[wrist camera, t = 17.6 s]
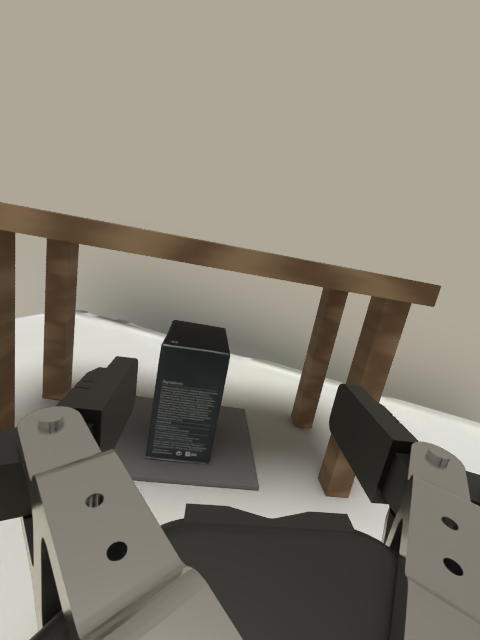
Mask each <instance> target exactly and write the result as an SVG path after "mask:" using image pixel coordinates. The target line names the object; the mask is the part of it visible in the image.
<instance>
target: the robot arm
mask: <svg viewBox="0 0 480 640" xmlns="http://www.w3.org/2000/svg"><path fill="white" fill-rule="evenodd" d="M137 372H138V359H136V358H127V357H119V356H116V357H115V359H114V360H113V361H112V362H111V363H110V365H109V366H108V367H107V368H101V367H99V368H97V369H94V370H92V371H90V372H88V373H87V374H86V375H85V376H84V377H83V378H82V379H81V380H80V382H78V383H77V384H76V385H75V386H74V388H72V389H71V390H70V392H69V393H68V394H67V395H66V396H65V397H64V398H63V399H62V400H61V401H60V402H59V403H58V404H57V405H56V406H55V407H48V408H43V409H40V410H37V411H34V412H32V413H30V414H28V415H27V416H25V417H24V418H23V419H22V420H21V421H20V422H19V424H18V427H16V428H10V429H1V430H0V521H3V520H8V519H12V518H17V517H20V518H21V524H22V530H23V535H24V540H25V546H26V551H27V556H28V562H29V567H30V572H31V577H32V583H33V591H34V601H35V611H36V619H37V626H38V632H37V633H36V634H35V635H34V636H33V637H32V638H31V639H30V640H480V475H478V474H475V473H471V472H468V471H465V467H464V465H463V464H462V462H461V461H460V460H459V459H458V458H456V457H455V456H454V455H453V454H451V453H450V452H448V451H446V450H444V449H443V448H441V447H438V446H436V445H433V444H430V443H426V442H419V441H418V440H417V439H416V438H415V437H414V436H413V435H412V434H411V433H410V432H409V431H408V430H407V429H406V428H405V427H404V426H403V425H402V424H401V423H399V421H398V420H397V419H396V418H395V417H394V416H393V415H392V414H391V413H390V412H389V411H388V410H387V409H386V408H385V407H384V406H383V405H381V404H380V403H378V402H377V401H375V400H374V399H373V398H372V397H371V396H370V395H369V394H368V393H367V391H366V390H365V389H364V388H363V387H362V386H359V385H351V384H340V385H339V387H338V390H337V393H336V397H335V400H334V404H333V408H332V411H331V415H330V419H329V427H330V432H331V434H332V436H333V437H334V439H335V441H336V443H337V444H338V446H339V448H340V450H341V451H342V453H343V455H344V456H345V458H346V460H347V462H348V463H349V465H350V467H351V468H352V470H353V472H354V474H355V475H356V477H357V479H358V481H359V482H360V484H361V486H362V487H363V489H364V491H365V493H366V494H367V496H368V498H369V500H370V501H371V503H381V504H389V506H390V507H389V509H388V512H387V515H386V519H385V524H384V530H383V535H382V540H381V541H379V540H377V539H375V538H373V537H371V536H369V535H367V534H365V533H362V532H360V531H357V530H354V528H353V526H352V524H351V521H350V519H349V517H348V515H347V514H338V513H323V512H305V513H300V514H295V515H290V516H285V517H280V518H274V519H270V518H265V517H262V516H259V515H255V514H252V513H249V512H245V511H242V510H239V509H235V508H232V507H229V506H216V505H201V504H186V509H185V516H184V519H179V520H175V521H171V522H168V523H165V524H163V525H161V526H160V525H159V523H158V522H157V520H156V518H155V517H154V515H153V513H152V512H151V510H150V508H149V507H148V505H147V503H146V502H145V500H144V498H143V497H142V495H141V493H140V492H139V490H138V488H137V487H136V485H135V483H134V482H133V480H132V479H131V477H130V475H129V474H128V472H127V470H126V469H125V467H124V465H123V464H122V462H121V460H120V459H119V457H118V455H117V454H116V452H115V451H114V448H115V446H116V444H117V442H118V440H119V438H120V436H121V434H122V432H123V430H124V428H125V426H126V424H127V422H128V419H129V417H130V415H131V413H132V410H133V407H134V403H135V396H136V384H137Z"/></svg>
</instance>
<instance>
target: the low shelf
mask: <svg viewBox="0 0 480 640" xmlns="http://www.w3.org/2000/svg"><path fill="white" fill-rule="evenodd" d="M15 232H16V233H22V234H28V235H33V236H39V237H45V238H47V256H46V290H45V293H46V294H45V325H44V360H43V395H42V398H48V399H57V400H62V399H63V398H64V397H65V396H66V395H67V394H68V393H69V392H70V390H71V381H72V362H73V344H74V325H75V306H76V286H77V268H78V250H79V249H78V248H79V244H84V245H90V246H95V247H100V248H106V249H112V250H117V251H123V252H129V253H134V254H140V255H145V256H151V257H157V258H162V259H168V260H174V261H179V262H185V263H190V264H196V265H201V266H207V267H213V268H219V269H224V270H230V271H235V272H241V273H246V274H252V275H257V276H263V277H269V278H275V279H280V280H286V281H291V282H297V283H302V284H308V285H314V286H319V287H323V291H322V295H321V299H320V303H319V307H318V311H317V316H316V319H315V323H314V327H313V331H312V335H311V339H310V343H309V347H308V351H307V355H306V359H305V363H304V367H303V371H302V375H301V379H300V383H299V387H298V390H297V394H296V398H295V402H294V406H293V410H292V414H291V418H292V420H293V422H294V425H295V426H297V427H306V428H311V427H312V423H313V420H314V416H315V413H316V409H317V405H318V402H319V398H320V394H321V391H322V387H323V383H324V380H325V376H326V372H327V369H328V365H329V361H330V358H331V354H332V350H333V346H334V343H335V339H336V336H337V332H338V328H339V325H340V321H341V317H342V314H343V310H344V306H345V302H346V299H347V295H348V292H353V293H359V294H365V295H370V296H371V300H370V303H369V307H368V310H367V313H366V317H365V320H364V323H363V327H362V331H361V334H360V337H359V341H358V344H357V347H356V351H355V354H354V358H353V361H352V365H351V368H350V372H349V375H348V378H347V382H346V384H351V385H359V386H362V387H363V388H364V389H365V390H366V391H367V393H368V394H369V395H370V396H371V397H372V398H373V399H374V400H375V401H377V402H378V403H379V401H380V398H381V395H382V392H383V389H384V386H385V383H386V380H387V377H388V374H389V370H390V367H391V364H392V361H393V358H394V355H395V352H396V349H397V346H398V343H399V340H400V337H401V334H402V331H403V328H404V325H405V322H406V318H407V316H408V312H409V309H410V306H411V303H415V304H420V305H426V306H431V307H434V306H435V303H436V300H437V297H438V294H439V291H440V288H441V286H439V285H434V284H429V283H424V282H419V281H413V280H408V279H403V278H398V277H392V276H388V275H382V274H377V273H372V272H367V271H362V270H357V269H352V268H346V267H341V266H336V265H330V264H325V263H320V262H314V261H309V260H304V259H299V258H293V257H288V256H283V255H278V254H273V253H267V252H262V251H257V250H251V249H246V248H241V247H236V246H230V245H225V244H220V243H215V242H209V241H204V240H199V239H193V238H188V237H183V236H178V235H172V234H167V233H162V232H157V231H151V230H145V229H141V228H135V227H130V226H124V225H119V224H114V223H109V222H104V221H98V220H93V219H88V218H83V217H77V216H72V215H67V214H61V213H56V212H51V211H46V210H40V209H35V208H29V207H24V206H18V205H12V204H7V203H2V202H0V430H1V429H10V428H14V420H15ZM354 478H355V474H354V472H353V470H352V468H351V467H350V465H349V463H348V462H347V460H346V458H345V456H344V455H343V453H342V451H341V450H340V448H339V446H338V444H337V443H336V441H335V439H334V437H333V436H332V434H331V436H330V440H329V443H328V447H327V450H326V453H325V457H324V460H323V464H322V467H321V470H320V474H319V477H318V479H319V481H320V483H321V485H322V488H323V490H324V492H325V494H326V496H334V497H346V498H348V496H349V493H350V490H351V487H352V484H353V481H354Z"/></svg>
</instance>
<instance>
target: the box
mask: <svg viewBox="0 0 480 640" xmlns="http://www.w3.org/2000/svg"><path fill="white" fill-rule="evenodd" d="M229 359H230V351H229V346H228V340H227V335H226V329H225V328H220V327H215V326H208V325H202V324H197V323H190V322H184V321H178V320H174V321H172V324H171V327H170V329H169V331H168V334H167V336H166V338H165V339H164V341H163V343H162V345H161V352H160V358H159V364H158V372H157V379H156V385H155V393H154V400H153V408H152V415H151V421H150V429H149V436H148V443H147V450H146V457H147V458H152V459H160V460H169V461H178V462H189V463H199V464H207V463H209V462H210V458H211V452H212V447H213V442H214V436H215V431H216V426H217V421H218V416H219V411H220V406H221V401H222V396H223V391H224V386H225V380H226V375H227V370H228V365H229Z"/></svg>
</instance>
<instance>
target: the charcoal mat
mask: <svg viewBox="0 0 480 640" xmlns="http://www.w3.org/2000/svg"><path fill="white" fill-rule="evenodd" d="M153 400H154V398H147V397H138V396H135V403H134V407H133V410H132V413H131V415H130V417H129V419H128V422H127V424H126V426H125V428H124V430H123V432H122V434H121V436H120V438H119V440H118V442H117V444H116V446H115V448H114V451H115V452H116V454H117V455H118V457H119V459H120V460H121V462H122V464H123V465H124V467H125V469H126V470H127V472H128V474H129V475H130V477H131V479H132V480H138V481H151V482H163V483H175V484H187V485H199V486H212V487H224V488H236V489H248V490H258V489H259V485H258V480H257V474H256V469H255V464H254V458H253V453H252V448H251V442H250V437H249V432H248V426H247V421H246V416H245V410H244V409H240V408H232V407H223V406H220V411H219V416H218V421H217V426H216V431H215V436H214V442H213V447H212V452H211V458H210V462H209V463H207V464H199V463H189V462H178V461H169V460H160V459H152V458H147V457H146V450H147V443H148V436H149V429H150V421H151V415H152V408H153Z"/></svg>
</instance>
